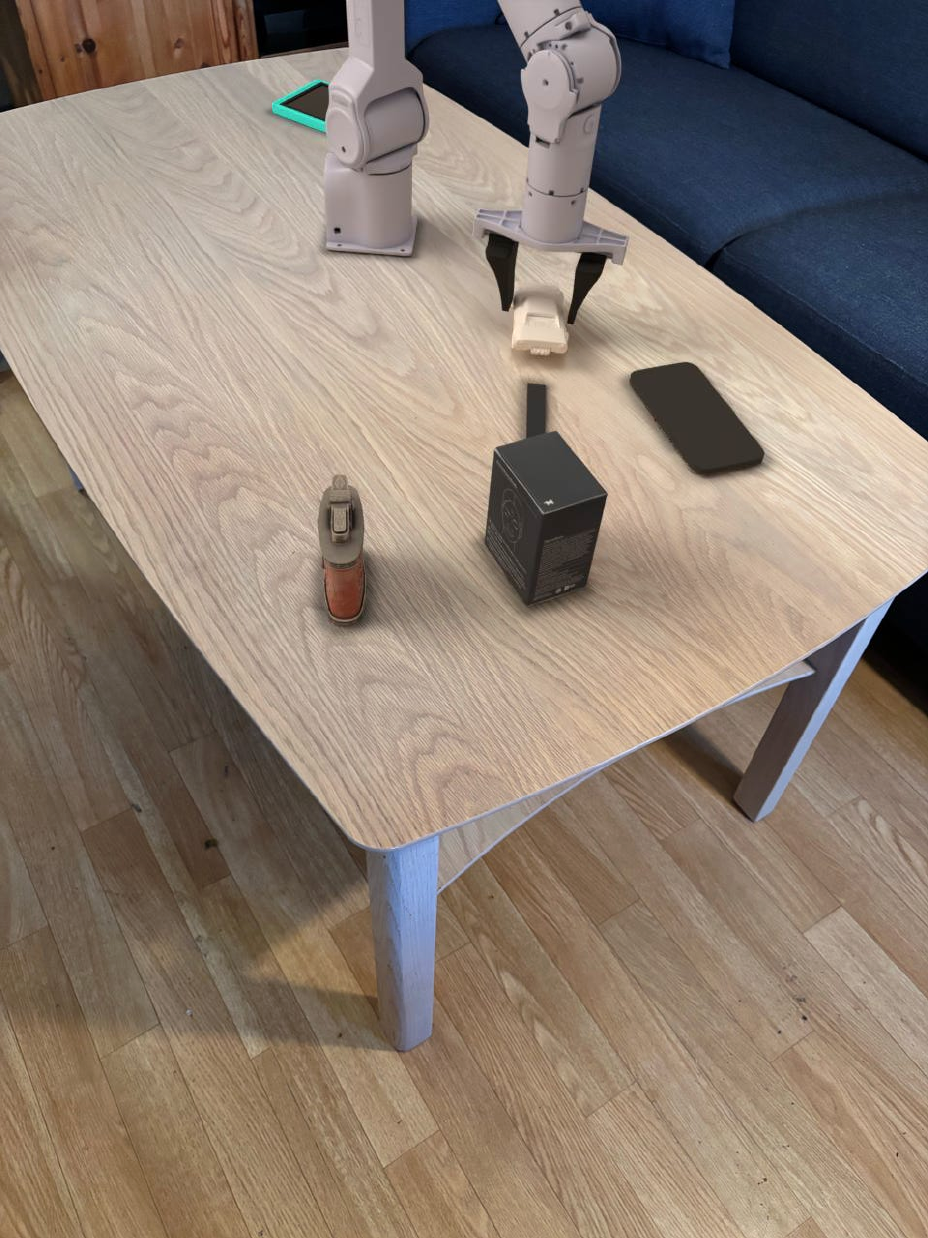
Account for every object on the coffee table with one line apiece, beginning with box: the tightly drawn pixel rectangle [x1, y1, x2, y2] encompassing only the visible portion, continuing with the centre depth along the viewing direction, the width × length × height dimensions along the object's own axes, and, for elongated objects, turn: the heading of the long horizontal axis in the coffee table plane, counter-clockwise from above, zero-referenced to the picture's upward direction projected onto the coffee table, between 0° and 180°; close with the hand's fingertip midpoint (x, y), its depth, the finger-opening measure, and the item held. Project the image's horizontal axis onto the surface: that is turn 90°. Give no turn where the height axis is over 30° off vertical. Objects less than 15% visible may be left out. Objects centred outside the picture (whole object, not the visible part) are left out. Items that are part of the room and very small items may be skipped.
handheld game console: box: [271, 78, 330, 134], centre depth 126 cm, size 10×16×1 cm, turn 57°
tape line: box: [525, 382, 547, 439], centre depth 89 cm, size 2×15×1 cm, turn 177°
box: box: [484, 430, 609, 607], centre depth 75 cm, size 8×6×11 cm
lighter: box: [317, 473, 368, 629], centre depth 73 cm, size 8×3×10 cm, turn 5°
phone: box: [629, 361, 766, 476], centre depth 91 cm, size 7×1×15 cm
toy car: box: [510, 280, 569, 356], centre depth 97 cm, size 6×12×3 cm, turn 179°
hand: (539, 312), depth 97 cm, fingers closed on toy car, 6 cm apart
